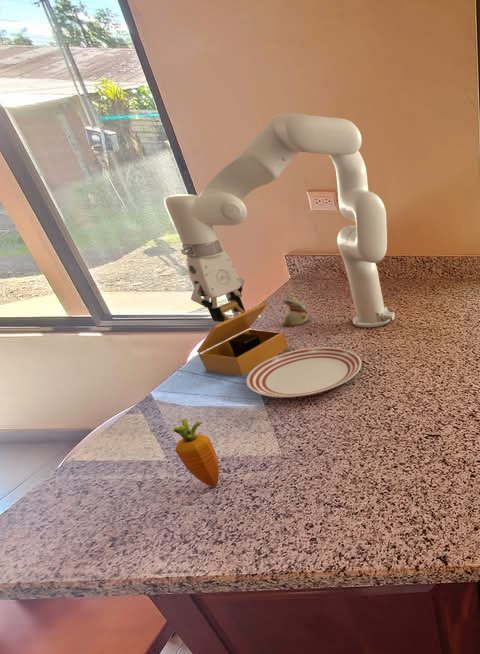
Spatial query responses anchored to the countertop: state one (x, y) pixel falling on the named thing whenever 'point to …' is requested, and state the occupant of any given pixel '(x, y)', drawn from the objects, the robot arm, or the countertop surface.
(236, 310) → the robot arm
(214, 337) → the hinged box lid
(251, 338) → the black block
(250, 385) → the dinner plate
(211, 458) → the carrot
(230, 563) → the countertop surface
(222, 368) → the box
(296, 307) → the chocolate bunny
